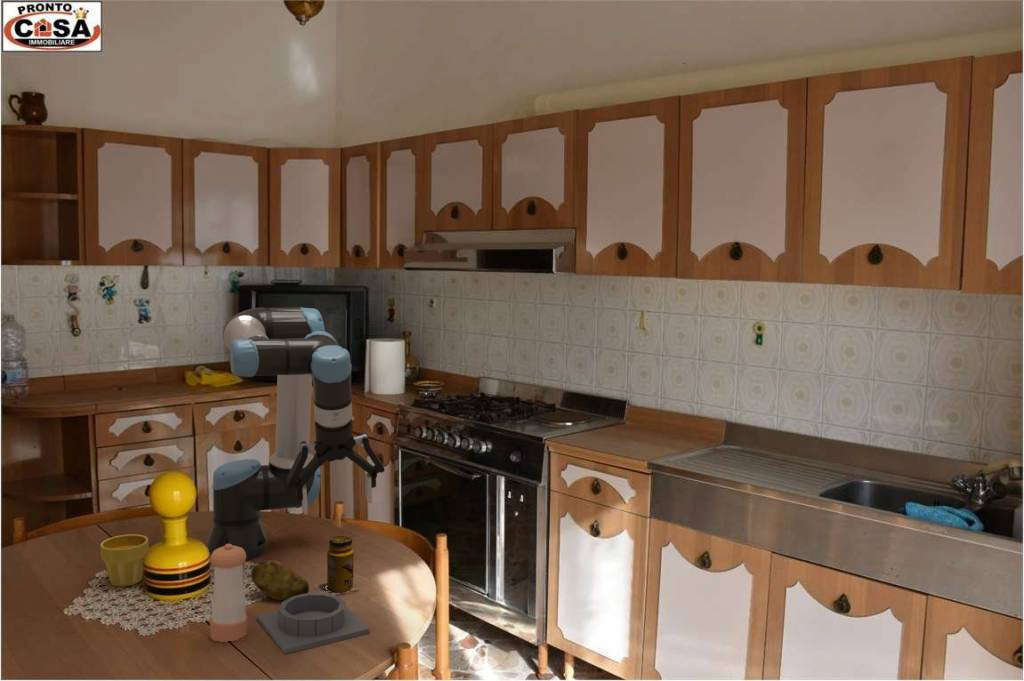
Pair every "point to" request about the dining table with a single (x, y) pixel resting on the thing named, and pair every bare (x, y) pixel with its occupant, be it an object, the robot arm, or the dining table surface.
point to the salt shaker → (228, 594)
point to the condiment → (339, 566)
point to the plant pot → (124, 558)
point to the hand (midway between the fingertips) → (337, 505)
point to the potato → (278, 580)
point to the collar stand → (311, 622)
